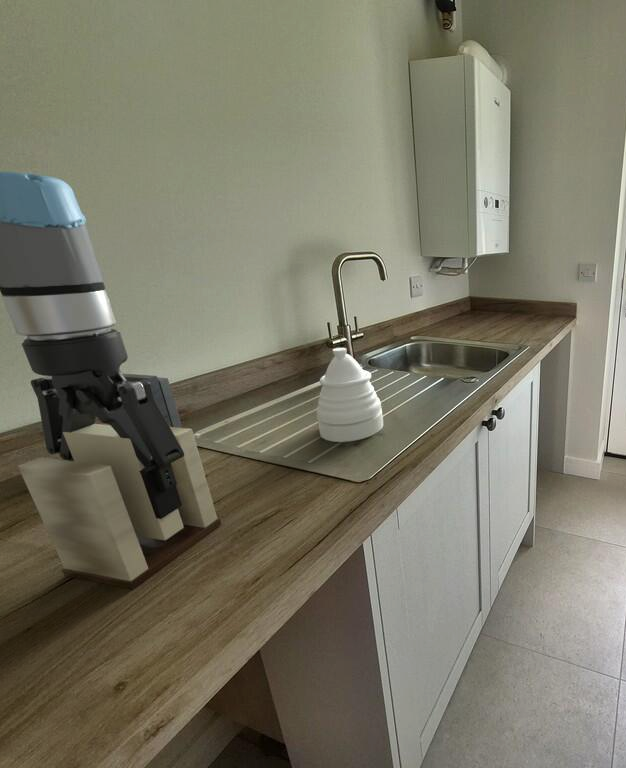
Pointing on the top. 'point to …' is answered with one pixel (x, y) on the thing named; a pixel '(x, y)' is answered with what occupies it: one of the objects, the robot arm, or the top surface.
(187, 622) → the top surface
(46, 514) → the cream book stand
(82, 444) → the cream book
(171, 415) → the grey book stand
